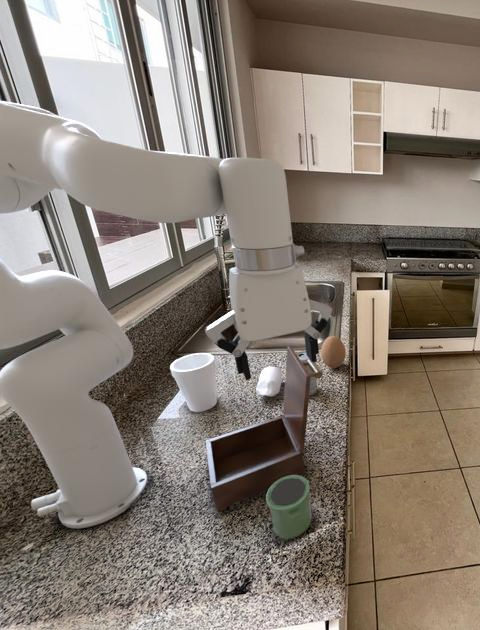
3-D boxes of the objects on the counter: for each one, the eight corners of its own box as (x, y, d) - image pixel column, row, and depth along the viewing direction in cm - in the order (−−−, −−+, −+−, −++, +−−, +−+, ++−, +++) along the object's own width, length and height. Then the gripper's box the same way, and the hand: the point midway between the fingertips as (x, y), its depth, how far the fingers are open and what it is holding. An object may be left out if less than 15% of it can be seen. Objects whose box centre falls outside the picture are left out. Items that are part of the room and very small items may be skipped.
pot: (278, 555, 56) (271, 521, 53) (267, 514, 62) (261, 482, 59) (320, 533, 59) (316, 500, 56) (305, 497, 66) (301, 465, 63)
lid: (306, 376, 63) (330, 373, 66) (287, 346, 74) (309, 344, 76) (300, 451, 68) (322, 445, 70) (282, 413, 78) (303, 409, 81)
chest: (218, 514, 62) (210, 488, 60) (211, 464, 73) (205, 440, 70) (305, 476, 70) (302, 452, 68) (288, 436, 81) (285, 414, 79)
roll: (255, 408, 90) (252, 390, 88) (261, 383, 101) (258, 366, 99) (280, 404, 92) (277, 387, 90) (283, 380, 103) (281, 364, 100)
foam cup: (185, 420, 85) (172, 376, 80) (179, 403, 91) (167, 360, 87) (227, 405, 91) (218, 363, 86) (219, 390, 97) (209, 349, 92)
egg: (350, 362, 113) (348, 333, 109) (340, 374, 107) (338, 343, 102) (329, 359, 115) (326, 330, 111) (317, 371, 108) (314, 340, 104)
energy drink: (310, 385, 101) (306, 349, 96) (321, 392, 98) (317, 355, 93) (294, 393, 97) (289, 355, 92) (304, 400, 94) (300, 362, 89)
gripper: (318, 247, 54) (326, 344, 60) (188, 258, 45) (214, 371, 51) (336, 256, 48) (343, 362, 55) (192, 271, 39) (220, 397, 46)
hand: (280, 366), depth 53 cm, fingers open, 9 cm apart
